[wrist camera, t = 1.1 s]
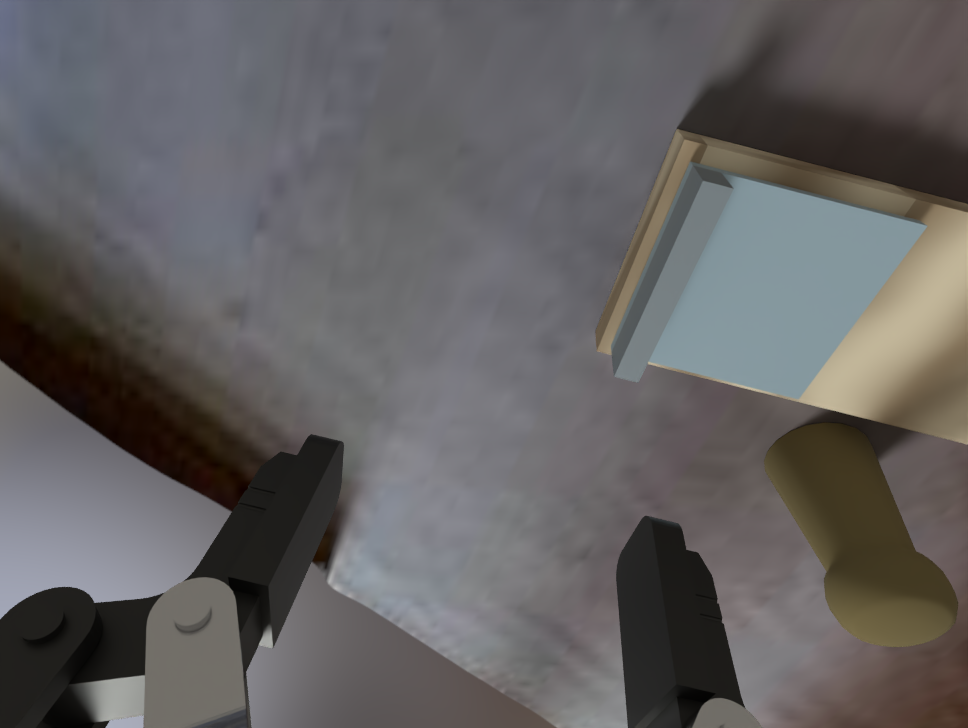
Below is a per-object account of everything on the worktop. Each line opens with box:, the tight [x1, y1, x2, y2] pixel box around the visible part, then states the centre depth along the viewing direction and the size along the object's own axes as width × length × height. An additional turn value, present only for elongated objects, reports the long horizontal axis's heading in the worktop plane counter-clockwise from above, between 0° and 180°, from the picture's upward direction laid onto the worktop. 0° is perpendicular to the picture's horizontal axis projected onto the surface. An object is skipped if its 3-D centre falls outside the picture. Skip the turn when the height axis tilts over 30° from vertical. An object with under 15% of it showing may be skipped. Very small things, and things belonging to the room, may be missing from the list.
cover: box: [611, 161, 927, 399], centre depth 24 cm, size 10×10×3 cm
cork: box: [764, 423, 958, 647], centre depth 29 cm, size 6×6×11 cm
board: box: [595, 129, 968, 444], centre depth 26 cm, size 24×11×2 cm, turn 78°
